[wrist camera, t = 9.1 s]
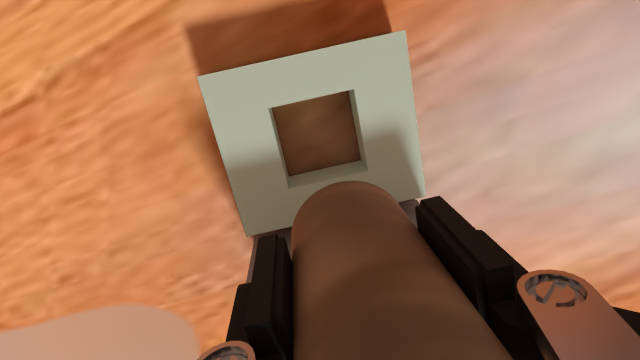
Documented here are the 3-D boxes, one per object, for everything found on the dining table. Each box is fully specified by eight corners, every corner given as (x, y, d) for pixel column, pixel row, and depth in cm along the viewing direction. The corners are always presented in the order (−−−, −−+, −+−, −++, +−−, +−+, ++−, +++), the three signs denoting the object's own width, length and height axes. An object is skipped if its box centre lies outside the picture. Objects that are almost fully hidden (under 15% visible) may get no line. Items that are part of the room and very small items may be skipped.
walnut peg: (397, 168, 12) (761, 548, 3) (412, 271, 14) (697, 765, 4) (278, 195, 12) (245, 670, 3) (305, 295, 14) (344, 852, 4)
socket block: (393, 32, 27) (405, 29, 24) (413, 183, 31) (426, 196, 28) (206, 74, 27) (196, 76, 24) (250, 220, 31) (246, 236, 28)
